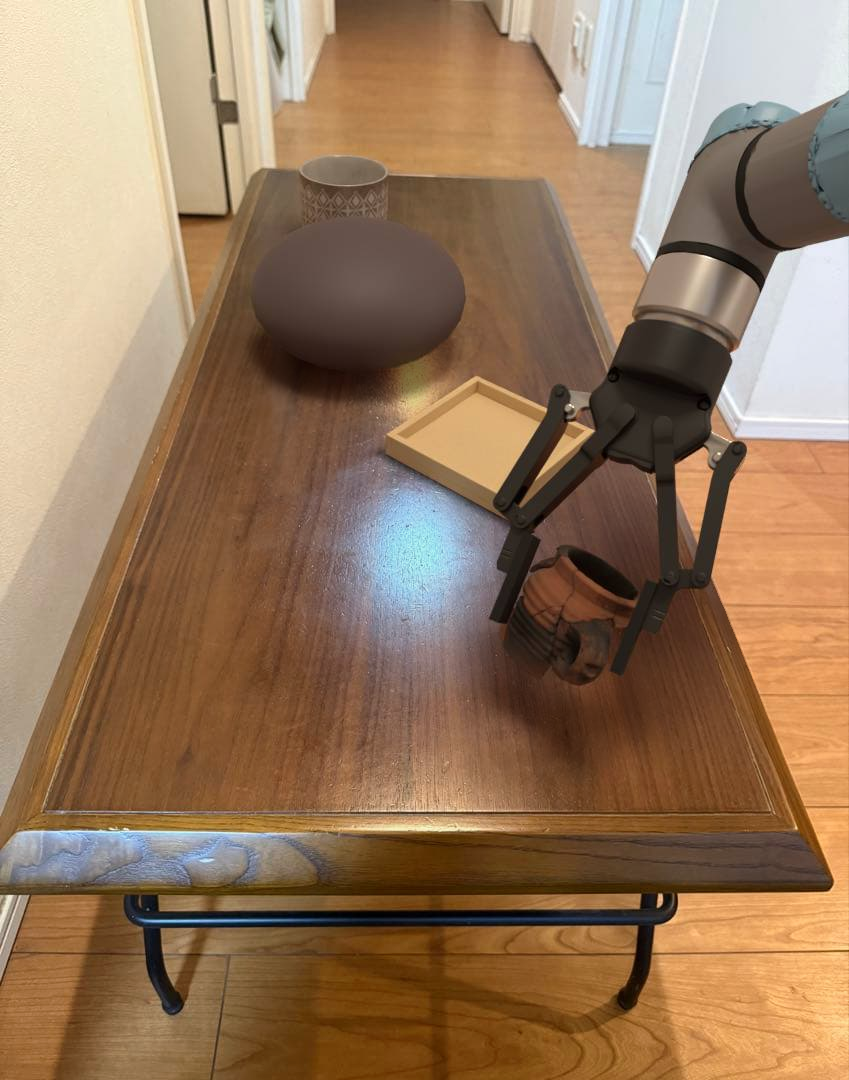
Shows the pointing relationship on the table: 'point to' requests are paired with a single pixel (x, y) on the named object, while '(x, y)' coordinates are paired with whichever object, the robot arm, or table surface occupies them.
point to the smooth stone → (358, 294)
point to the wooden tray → (479, 441)
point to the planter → (342, 188)
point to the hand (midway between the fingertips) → (555, 646)
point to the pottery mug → (568, 616)
